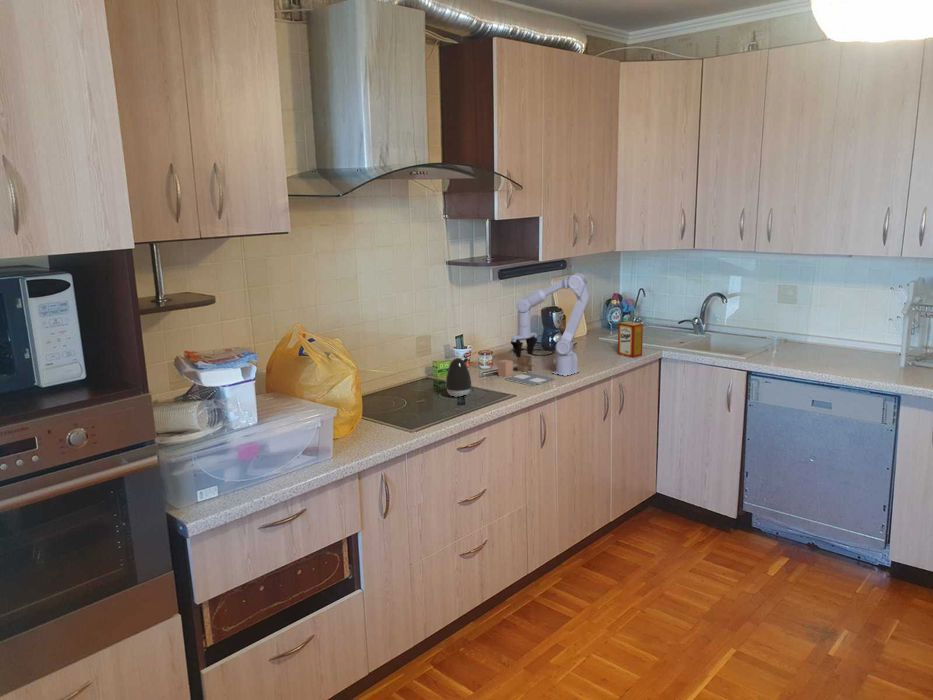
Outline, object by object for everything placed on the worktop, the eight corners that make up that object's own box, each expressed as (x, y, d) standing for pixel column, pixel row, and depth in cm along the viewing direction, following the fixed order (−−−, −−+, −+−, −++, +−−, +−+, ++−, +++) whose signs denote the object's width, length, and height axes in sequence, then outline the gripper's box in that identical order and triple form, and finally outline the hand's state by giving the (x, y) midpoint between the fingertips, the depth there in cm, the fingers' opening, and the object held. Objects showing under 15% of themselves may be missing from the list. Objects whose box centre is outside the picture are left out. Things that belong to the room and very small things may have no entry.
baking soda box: (641, 355, 341) (642, 323, 337) (632, 357, 337) (633, 324, 334) (627, 352, 348) (627, 320, 345) (617, 354, 345) (618, 322, 341)
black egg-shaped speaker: (477, 395, 280) (476, 357, 277) (458, 400, 273) (457, 362, 270) (459, 390, 287) (458, 354, 284) (440, 396, 280) (439, 358, 277)
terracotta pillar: (505, 374, 311) (505, 359, 310) (512, 376, 308) (512, 360, 306) (498, 376, 308) (498, 361, 307) (505, 378, 305) (505, 362, 303)
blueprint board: (527, 373, 312) (527, 372, 312) (554, 379, 300) (554, 378, 300) (504, 379, 303) (504, 378, 303) (532, 386, 291) (532, 384, 291)
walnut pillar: (524, 369, 319) (524, 354, 317) (531, 371, 316) (531, 356, 314) (517, 371, 316) (517, 356, 315) (524, 373, 313) (524, 358, 311)
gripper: (528, 322, 319) (528, 351, 322) (506, 326, 310) (506, 356, 312) (540, 323, 314) (540, 353, 317) (517, 328, 304) (517, 359, 307)
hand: (524, 355), depth 314 cm, fingers open, 7 cm apart
